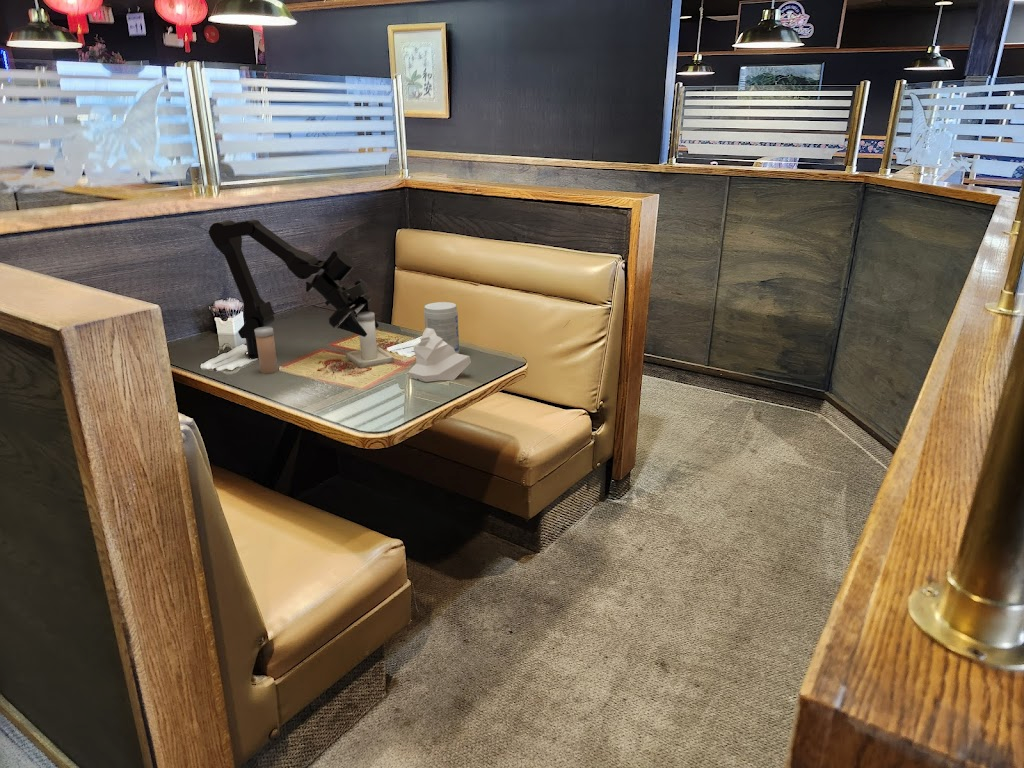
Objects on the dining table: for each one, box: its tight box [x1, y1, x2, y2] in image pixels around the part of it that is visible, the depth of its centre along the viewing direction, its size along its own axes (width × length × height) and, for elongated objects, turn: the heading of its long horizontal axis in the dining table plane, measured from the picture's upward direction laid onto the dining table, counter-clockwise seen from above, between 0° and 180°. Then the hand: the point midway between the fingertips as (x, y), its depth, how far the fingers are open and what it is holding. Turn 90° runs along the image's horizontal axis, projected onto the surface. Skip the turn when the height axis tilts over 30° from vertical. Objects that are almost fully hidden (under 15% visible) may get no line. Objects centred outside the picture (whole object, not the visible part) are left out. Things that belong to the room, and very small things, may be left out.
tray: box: [345, 346, 395, 369], centre depth 207 cm, size 12×10×2 cm
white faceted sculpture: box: [407, 328, 472, 383], centre depth 191 cm, size 12×15×14 cm
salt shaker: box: [356, 311, 378, 360], centre depth 205 cm, size 5×5×13 cm
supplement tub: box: [423, 301, 460, 354], centre depth 209 cm, size 10×10×15 cm
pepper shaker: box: [254, 326, 279, 375], centre depth 197 cm, size 5×5×12 cm
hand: (372, 331), depth 204 cm, fingers open, 9 cm apart
